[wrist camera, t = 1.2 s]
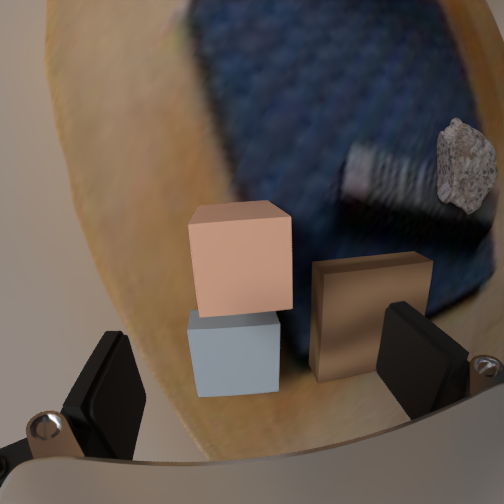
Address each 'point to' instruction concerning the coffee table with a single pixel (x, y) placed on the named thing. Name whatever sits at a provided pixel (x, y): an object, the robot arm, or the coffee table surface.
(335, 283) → the walnut block
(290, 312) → the coffee table surface
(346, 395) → the coffee table surface
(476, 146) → the rock
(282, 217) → the terracotta block
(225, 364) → the slate block
